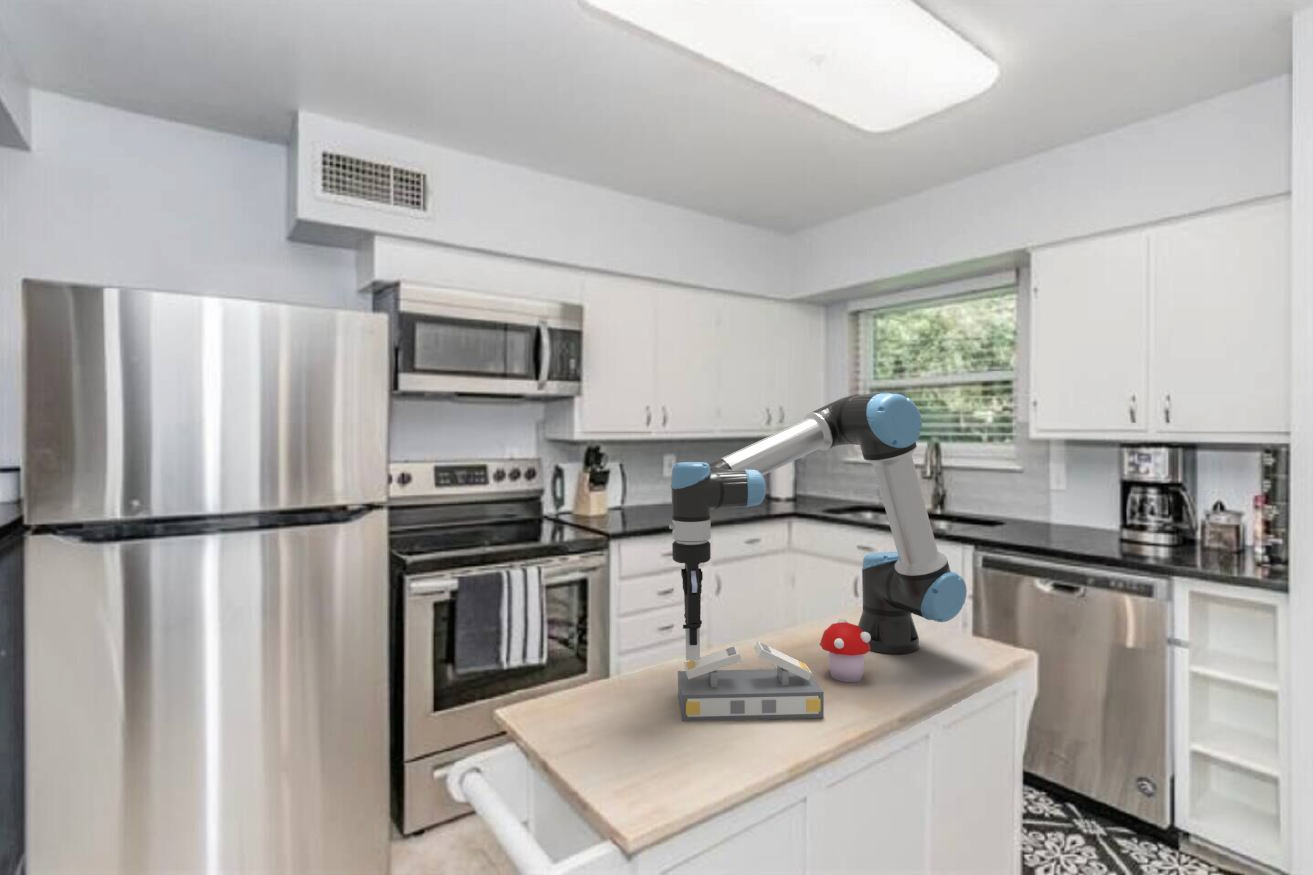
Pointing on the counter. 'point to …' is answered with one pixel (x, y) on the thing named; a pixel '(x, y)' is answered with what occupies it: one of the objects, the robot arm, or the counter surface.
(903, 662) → the counter surface
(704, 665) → the rocker
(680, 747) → the counter surface
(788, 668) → the rocker
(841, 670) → the mushroom
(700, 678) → the switch unit
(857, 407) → the robot arm
